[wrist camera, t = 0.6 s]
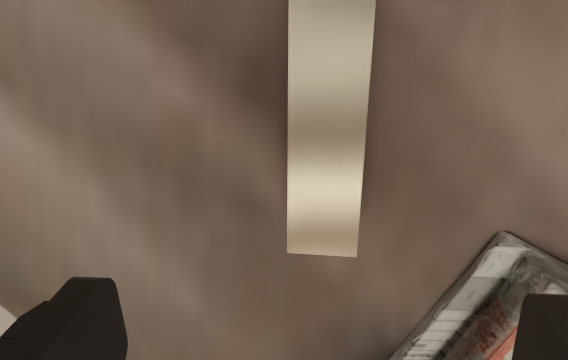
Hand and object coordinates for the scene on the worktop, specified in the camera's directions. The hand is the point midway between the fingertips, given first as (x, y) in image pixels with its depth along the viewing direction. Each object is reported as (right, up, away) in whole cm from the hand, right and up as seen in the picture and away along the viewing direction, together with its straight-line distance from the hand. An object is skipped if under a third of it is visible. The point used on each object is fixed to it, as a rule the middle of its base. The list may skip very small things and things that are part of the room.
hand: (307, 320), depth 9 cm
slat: (+2, +7, +17) cm, 18 cm away
